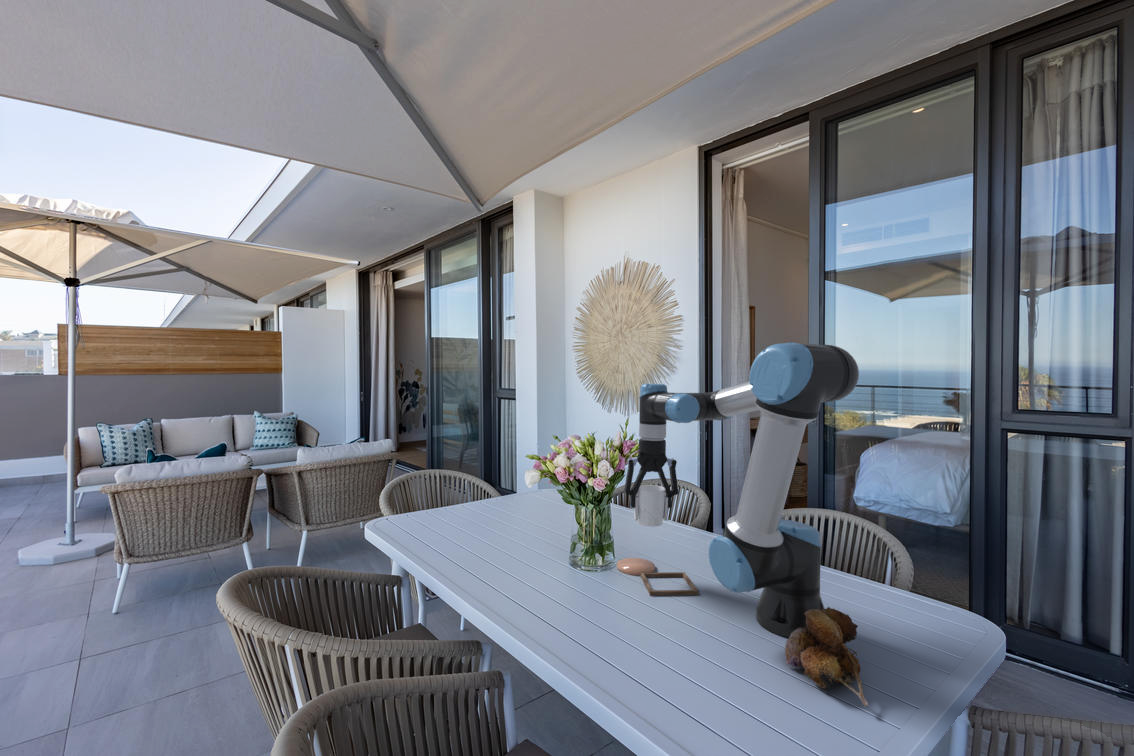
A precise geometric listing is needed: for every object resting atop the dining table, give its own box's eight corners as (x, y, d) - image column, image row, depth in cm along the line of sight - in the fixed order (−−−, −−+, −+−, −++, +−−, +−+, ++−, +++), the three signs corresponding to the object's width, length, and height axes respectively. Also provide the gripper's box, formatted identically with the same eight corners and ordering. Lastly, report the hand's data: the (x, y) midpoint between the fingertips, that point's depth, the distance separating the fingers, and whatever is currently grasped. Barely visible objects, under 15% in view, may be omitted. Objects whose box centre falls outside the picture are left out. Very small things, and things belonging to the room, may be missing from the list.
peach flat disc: (658, 575, 145) (658, 571, 145) (620, 575, 144) (620, 572, 144) (650, 561, 156) (650, 557, 156) (614, 561, 155) (614, 558, 155)
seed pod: (890, 636, 98) (810, 593, 107) (889, 655, 85) (798, 604, 94) (863, 699, 98) (786, 650, 107) (858, 727, 85) (770, 670, 94)
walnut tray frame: (698, 594, 132) (698, 591, 132) (650, 595, 131) (650, 591, 131) (684, 575, 144) (684, 572, 144) (640, 576, 144) (640, 572, 144)
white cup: (663, 519, 148) (664, 485, 148) (665, 528, 140) (666, 492, 140) (636, 518, 149) (636, 484, 148) (636, 526, 141) (637, 490, 141)
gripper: (684, 437, 148) (682, 515, 149) (614, 436, 147) (612, 514, 148) (692, 441, 140) (690, 523, 141) (618, 440, 140) (616, 523, 140)
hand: (650, 518), depth 144 cm, fingers closed on white cup, 8 cm apart
